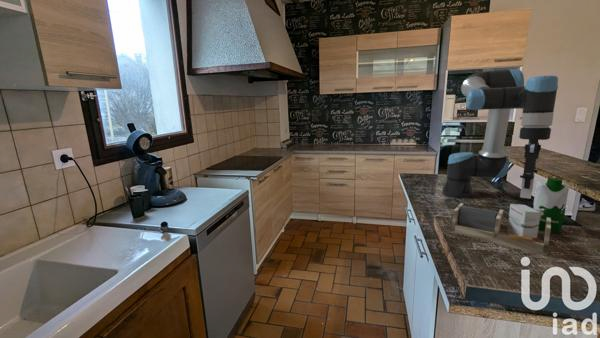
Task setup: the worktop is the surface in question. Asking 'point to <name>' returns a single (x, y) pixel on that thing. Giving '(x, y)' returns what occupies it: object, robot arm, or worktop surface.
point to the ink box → (523, 221)
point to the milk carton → (551, 202)
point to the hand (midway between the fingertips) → (526, 194)
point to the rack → (496, 229)
